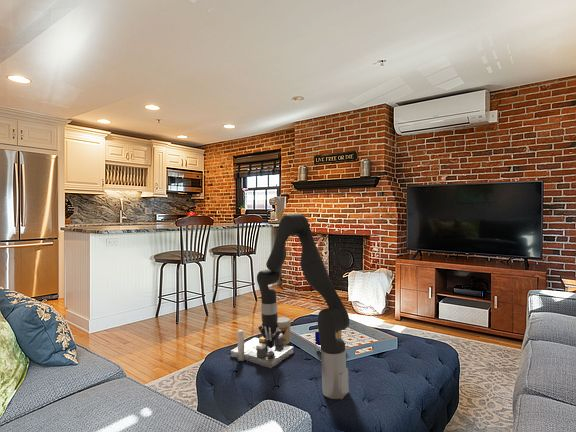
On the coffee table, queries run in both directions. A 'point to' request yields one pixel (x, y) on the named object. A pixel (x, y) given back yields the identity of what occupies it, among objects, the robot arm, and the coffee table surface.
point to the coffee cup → (284, 328)
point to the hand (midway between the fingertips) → (270, 347)
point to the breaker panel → (272, 354)
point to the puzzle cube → (338, 335)
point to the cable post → (240, 345)
